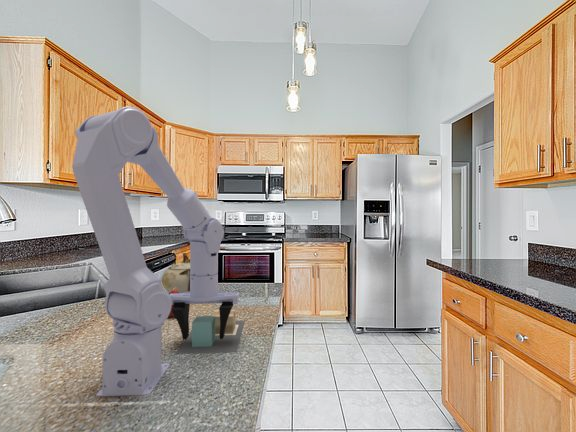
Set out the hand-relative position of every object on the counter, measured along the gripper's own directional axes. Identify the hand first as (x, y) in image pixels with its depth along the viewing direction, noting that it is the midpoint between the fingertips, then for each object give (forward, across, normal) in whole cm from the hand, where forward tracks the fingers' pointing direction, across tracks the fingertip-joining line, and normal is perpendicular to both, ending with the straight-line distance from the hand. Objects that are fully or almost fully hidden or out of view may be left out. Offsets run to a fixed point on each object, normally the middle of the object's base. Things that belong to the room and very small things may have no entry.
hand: (204, 337), depth 64 cm
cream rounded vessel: (+2, +15, -39) cm, 42 cm away
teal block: (+1, 0, 0) cm, 1 cm away
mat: (+2, -2, -4) cm, 5 cm away
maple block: (+1, -3, -7) cm, 8 cm away
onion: (+2, +12, -18) cm, 22 cm away
